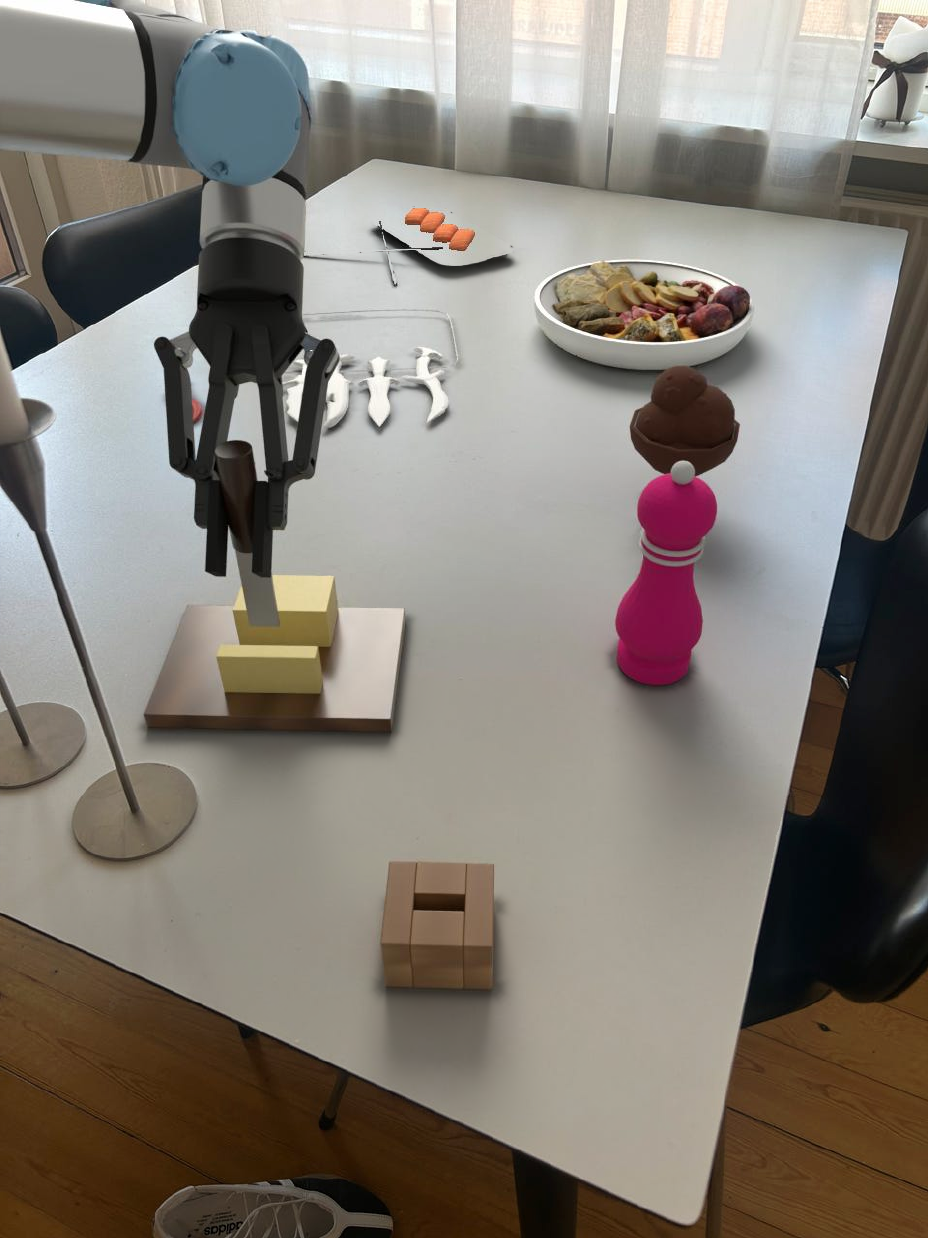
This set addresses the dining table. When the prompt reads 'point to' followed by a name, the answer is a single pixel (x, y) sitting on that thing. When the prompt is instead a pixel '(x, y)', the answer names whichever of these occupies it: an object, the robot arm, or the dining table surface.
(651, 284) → the bowl
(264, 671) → the butter slice
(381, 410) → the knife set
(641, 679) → the pepper mill
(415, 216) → the sushi plate
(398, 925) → the knife stand
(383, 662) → the butter board
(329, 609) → the butter block
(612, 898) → the dining table surface
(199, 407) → the cayenne pepper
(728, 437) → the ice cream bowl
